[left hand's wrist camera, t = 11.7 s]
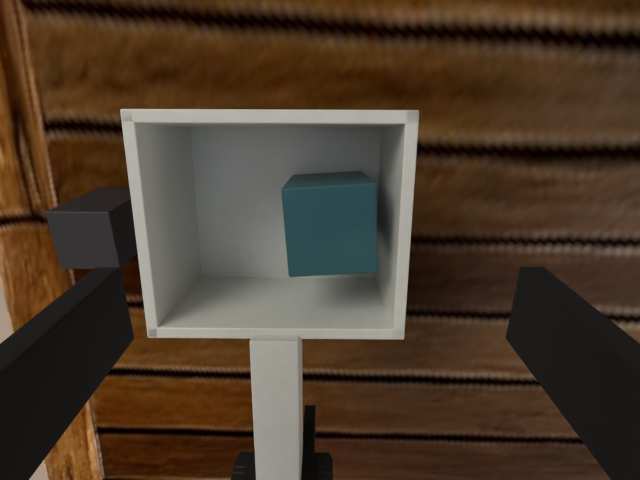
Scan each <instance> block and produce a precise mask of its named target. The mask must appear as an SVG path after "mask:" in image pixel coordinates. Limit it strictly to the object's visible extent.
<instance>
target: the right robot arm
mask: <svg viewBox="0 0 640 480" xmlns="http://www.w3.org/2000/svg"><path fill="white" fill-rule="evenodd" d="M231 480H256V468H255V447H254V450H253V453H252V452H240V454H239V455H238V457H237V458H236V461H235V465H234V469H233V474H232V478H231ZM301 480H333V469H332V458H331V456H330V454H329V453H315V405H305V414H304V432H303V454H302V472H301Z"/></svg>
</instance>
